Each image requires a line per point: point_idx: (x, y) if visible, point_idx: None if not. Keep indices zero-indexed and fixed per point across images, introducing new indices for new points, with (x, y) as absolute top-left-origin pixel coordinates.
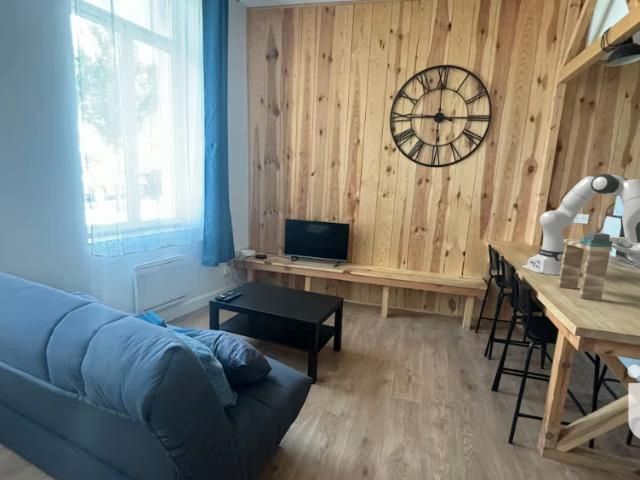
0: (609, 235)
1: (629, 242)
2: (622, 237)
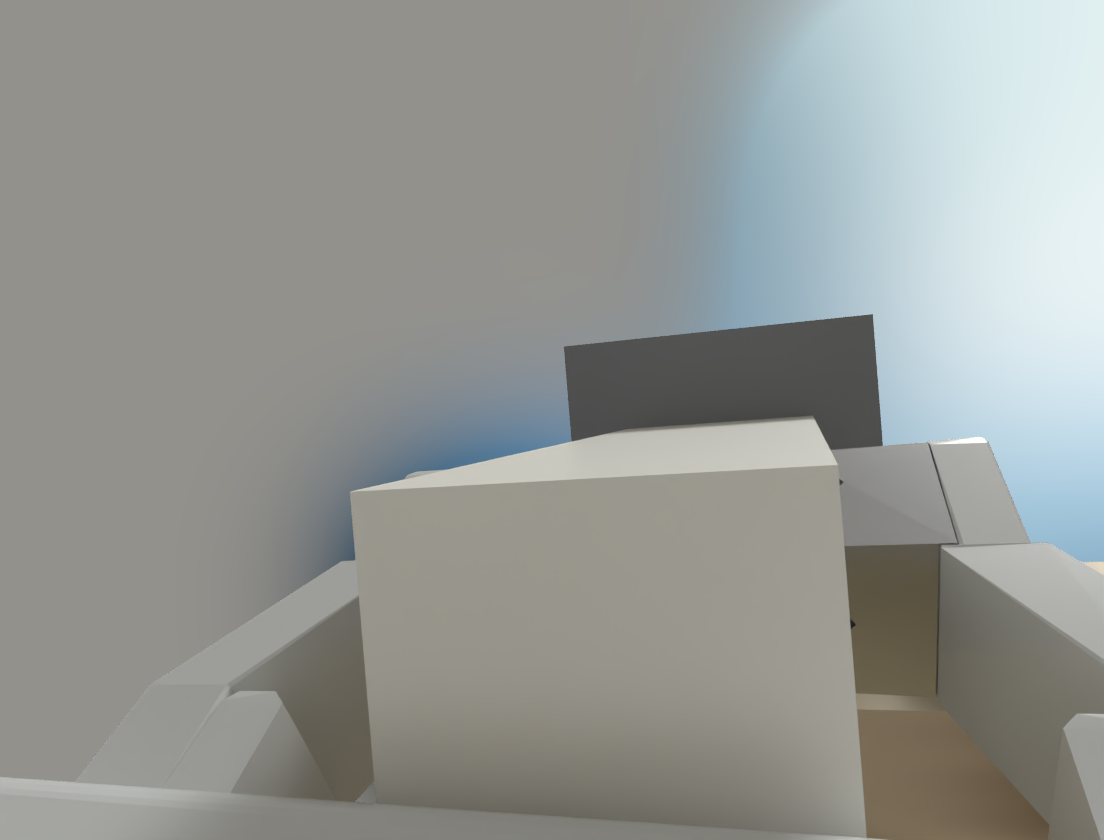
0: (569, 369)
1: (212, 793)
2: (705, 461)
